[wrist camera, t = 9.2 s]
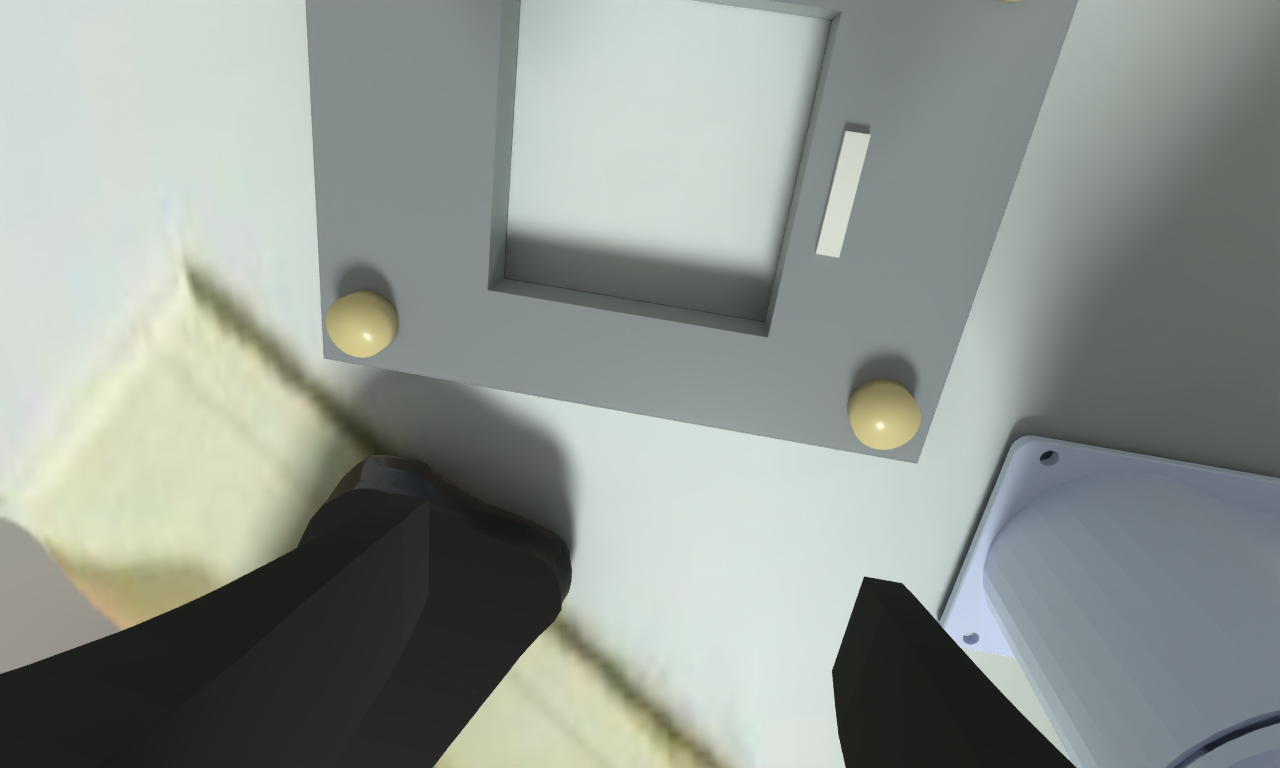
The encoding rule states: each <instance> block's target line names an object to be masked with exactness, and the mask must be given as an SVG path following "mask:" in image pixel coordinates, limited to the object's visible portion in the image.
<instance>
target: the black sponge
mask: <svg viewBox="0 0 1280 768" xmlns="http://www.w3.org/2000/svg"><path fill="white" fill-rule="evenodd" d="M393 493H398V494H404V495H409V496H415V497H420V498H426V499H430V523H429V587H428V599H427V601H426V603H425V605H424V608H423V610H422V612H421V615H420V617H419V619H418V621H417V624H416V626H415V628H414V630H413V632H412V635H411V637H410V639H409V641H408V643H407V645H406V647H405V650H404V652H403V653H402V655H401V657H400V659H399V660H398V662H397V664H396V665H395V667H394V669H393V670H392V672H391V674H390V675H389V677H388V679H387V680H386V682H385V684H384V685H383V687H382V689H381V690H380V692H379V694H378V695H377V697H376V698H375V700H374V702H373V703H372V705H371V707H370V708H369V710H368V712H367V713H366V715H365V716H364V718H363V720H362V721H361V723H360V725H359V726H358V728H357V729H356V731H355V733H354V734H353V736H352V738H351V739H350V741H349V742H348V744H347V746H346V747H345V749H344V751H343V752H342V754H341V756H340V757H339V759H338V760H337V762H336V764H335V765H334V767H333V768H432V767H433V766H434V765H435V764H436V763H437V761H438V760H439V759H440V758H441V756H442V755H443V754H444V752H445V751H446V750H447V748H448V747H449V746H450V744H451V743H452V742H453V741H454V740H455V738H456V737H457V736H458V735H459V733H460V732H461V731H462V730H463V728H464V727H465V726H466V725H467V723H468V722H469V721H470V719H471V718H472V717H473V716H474V714H475V713H476V712H477V711H478V709H479V708H480V707H481V705H482V704H483V703H484V702H485V700H486V699H487V698H488V697H489V695H490V694H491V693H492V692H493V690H494V689H495V688H496V687H497V686H498V684H499V683H500V682H501V681H502V679H503V678H504V677H505V675H506V674H507V673H508V672H509V670H510V669H511V668H512V666H513V665H514V664H515V663H516V661H517V660H518V659H519V657H520V656H521V655H522V654H523V653H524V652H525V651H526V650H527V648H528V647H529V646H530V645H531V644H532V643H533V642H534V641H535V640H536V639H537V637H538V636H539V635H541V634H542V633H543V632H544V631H545V630H546V629H547V628H548V627H549V626H550V625H551V624H552V623H553V622H554V620H555V619H556V617H557V616H558V614H559V613H560V611H561V606H562V602H563V601H564V599H565V597H566V596H567V594H568V593H569V589H570V585H571V579H572V567H571V561H570V555H569V550H568V548H567V546H566V544H565V542H564V541H563V540H561V539H560V538H559V537H558V536H557V535H556V534H554V533H552V532H550V531H548V530H546V529H544V528H542V527H540V526H539V525H537V524H535V523H533V522H532V521H530V520H527V519H525V518H522V517H520V516H517V515H515V514H512V513H510V512H507V511H505V510H502V509H499V508H497V507H494V506H491V505H488V504H486V503H484V502H482V501H480V500H478V499H476V498H474V497H472V496H470V495H469V494H468V493H467V492H465V491H464V490H463V489H461V488H460V487H458V486H456V485H455V484H453V483H452V482H450V481H448V480H447V479H445V478H443V477H442V476H440V475H439V474H438V473H436V472H435V471H434V470H432V469H431V468H430V467H429V466H428V465H427V464H426V463H424V462H421V461H419V460H415V459H409V458H403V457H397V456H391V455H374V456H370V457H367V458H366V459H364V460H363V461H361V462H360V463H358V464H357V465H356V466H355V467H354V468H353V469H352V470H350V471H349V472H348V473H347V474H346V475H345V476H344V477H343V478H342V480H341V481H340V483H339V484H338V485H337V487H336V488H335V490H334V491H333V492H332V494H331V495H330V497H329V498H328V499H327V501H326V502H325V503H324V504H323V505H322V507H321V508H320V509H319V510H318V511H317V513H316V514H315V515H314V516H313V517H312V519H311V520H310V522H309V524H308V526H307V528H306V530H305V532H304V534H303V536H302V538H301V541H300V543H299V545H298V547H299V546H301V545H303V544H305V543H307V542H308V541H310V540H312V539H314V538H315V537H317V536H319V535H321V534H323V533H324V532H326V531H328V530H330V529H331V528H333V527H335V526H337V525H338V524H340V523H342V522H343V521H345V520H347V519H349V518H350V517H352V516H354V515H356V514H357V513H359V512H361V511H362V510H364V509H366V508H368V507H369V506H371V505H373V504H375V503H376V502H378V501H380V500H382V499H384V498H385V497H387V496H389V495H391V494H393ZM298 547H297V548H298Z"/></svg>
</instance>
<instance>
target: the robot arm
mask: <svg viewBox="0 0 1280 768" xmlns="http://www.w3.org/2000/svg"><path fill="white" fill-rule="evenodd" d="M1047 451H1053V454H1052V455H1051V456H1050V458H1048V459H1046V460H1040V457H1041V455H1042V454H1043V453H1045V452H1047ZM429 523H430V499H426V498H420V497H415V496H409V495H404V494H398V493H393V494H391V495H389V496H387V497H385V498H384V499H382V500H380V501H378V502H376V503H375V504H373V505H371V506H369V507H368V508H366V509H364V510H362V511H361V512H359V513H357V514H356V515H354V516H352V517H350V518H349V519H347V520H345V521H343V522H342V523H340V524H338V525H337V526H335V527H333V528H331V529H330V530H328V531H326V532H324V533H323V534H321V535H319V536H317V537H315V538H314V539H312V540H310V541H308V542H307V543H305V544H303V545H301V546H299V547H298V548H296V549H294V550H292V551H291V552H289V553H287V554H285V555H283V556H281V557H279V558H277V559H276V560H274V561H272V562H270V563H268V564H266V565H264V566H262V567H260V568H258V569H256V570H254V571H252V572H250V573H248V574H246V575H244V576H242V577H240V578H238V579H236V580H235V581H233V582H231V583H229V584H227V585H225V586H223V587H221V588H219V589H217V590H215V591H213V592H210V593H208V594H206V595H204V596H202V597H200V598H198V599H195V600H193V601H191V602H189V603H187V604H184V605H182V606H180V607H178V608H175V609H173V610H171V611H168V612H166V613H164V614H161V615H159V616H156V617H154V618H152V619H149V620H147V621H145V622H142V623H140V624H138V625H135V626H133V627H130V628H128V629H125V630H123V631H120V632H118V633H115V634H112V635H110V636H107V637H104V638H101V639H99V640H96V641H93V642H90V643H87V644H85V645H82V646H79V647H76V648H74V649H71V650H68V651H66V652H63V653H60V654H57V655H54V656H52V657H49V658H46V659H43V660H41V661H38V662H35V663H33V664H30V665H27V666H24V667H21V668H18V669H15V670H11V671H9V672H5V673H2V674H0V768H333V767H334V765H335V764H336V762H337V760H338V759H339V757H340V756H341V754H342V752H343V751H344V749H345V747H346V746H347V744H348V742H349V741H350V739H351V738H352V736H353V734H354V733H355V731H356V729H357V728H358V726H359V725H360V723H361V721H362V720H363V718H364V716H365V715H366V713H367V712H368V710H369V708H370V707H371V705H372V703H373V702H374V700H375V698H376V697H377V695H378V694H379V692H380V690H381V689H382V687H383V685H384V684H385V682H386V680H387V679H388V677H389V675H390V674H391V672H392V670H393V669H394V667H395V665H396V664H397V662H398V660H399V659H400V657H401V655H402V653H403V652H404V650H405V647H406V645H407V643H408V641H409V639H410V637H411V635H412V632H413V630H414V628H415V626H416V624H417V621H418V619H419V617H420V615H421V612H422V610H423V608H424V605H425V603H426V601H427V599H428V587H429ZM969 632H974V633H973V634H972V635H970V636H964V635H965V634H967V633H969ZM961 648H965V649H970V650H976V651H981V652H986V653H991V654H997V655H1002V656H1007V657H1012V658H1016V660H1017V662H1018V664H1019V665H1020V667H1021V669H1022V671H1023V673H1024V675H1025V676H1026V678H1027V680H1028V682H1029V684H1030V686H1031V687H1032V689H1033V691H1034V693H1035V695H1036V697H1037V699H1038V700H1039V702H1040V704H1041V706H1042V708H1043V710H1044V711H1045V713H1046V715H1047V717H1048V719H1049V721H1050V722H1051V724H1052V726H1053V728H1054V730H1055V732H1056V733H1057V735H1058V737H1059V739H1060V741H1061V743H1062V745H1063V746H1064V748H1065V750H1066V752H1067V754H1068V756H1069V757H1070V759H1071V761H1072V763H1073V764H1072V763H1071V762H1070V761H1069V760H1068V759H1067V758H1066V757H1065V756H1064V755H1063V754H1062V753H1061V752H1060V751H1059V750H1058V749H1057V748H1056V747H1055V746H1054V745H1053V744H1052V743H1051V742H1050V741H1049V740H1048V739H1047V738H1046V737H1045V736H1044V735H1043V734H1042V733H1041V732H1040V731H1039V730H1038V729H1037V728H1035V727H1034V726H1033V725H1032V724H1031V723H1030V722H1029V721H1028V720H1027V719H1026V718H1025V717H1024V716H1023V715H1022V713H1021V712H1020V711H1019V710H1018V709H1017V708H1016V707H1015V706H1014V705H1013V704H1012V703H1011V702H1010V701H1009V700H1008V699H1007V698H1006V697H1005V696H1004V695H1003V694H1002V693H1001V692H1000V690H999V689H998V688H997V687H996V686H995V685H994V684H993V683H992V682H991V681H990V680H989V679H988V678H987V677H986V675H985V674H984V673H983V672H982V671H981V670H980V669H979V668H978V667H977V666H976V665H975V663H974V662H973V661H972V660H971V659H970V658H969V657H968V656H967V655H966V653H965V652H964V651H963V650H962V649H961ZM832 676H833V687H834V698H835V708H836V717H837V726H838V734H839V739H840V744H841V748H842V753H843V757H844V762H845V766H846V768H1280V478H1276V477H1270V476H1264V475H1258V474H1253V473H1247V472H1241V471H1235V470H1230V469H1224V468H1218V467H1212V466H1207V465H1201V464H1195V463H1189V462H1184V461H1178V460H1172V459H1166V458H1160V457H1155V456H1149V455H1143V454H1137V453H1132V452H1126V451H1120V450H1114V449H1109V448H1103V447H1097V446H1091V445H1086V444H1080V443H1074V442H1068V441H1063V440H1057V439H1051V438H1045V437H1040V436H1034V435H1026V436H1023V437H1020V438H1019V439H1017V440H1016V441H1015V442H1014V443H1013V444H1012V446H1011V447H1010V450H1009V452H1008V455H1007V457H1006V460H1005V462H1004V465H1003V467H1002V470H1001V472H1000V474H999V477H998V479H997V482H996V484H995V487H994V489H993V492H992V494H991V497H990V499H989V502H988V504H987V506H986V509H985V511H984V514H983V516H982V519H981V521H980V524H979V526H978V529H977V531H976V533H975V536H974V538H973V541H972V543H971V546H970V548H969V551H968V553H967V556H966V558H965V561H964V563H963V565H962V568H961V570H960V573H959V575H958V578H957V580H956V583H955V585H954V588H953V590H952V593H951V595H950V597H949V600H948V602H947V605H946V607H945V610H944V612H943V615H942V617H941V620H940V622H939V623H938V622H937V621H936V620H935V619H934V617H933V616H932V615H931V614H930V613H929V612H928V611H927V610H926V608H925V607H924V606H923V605H922V604H921V603H920V602H919V601H918V599H917V598H916V597H915V596H914V595H913V594H912V593H911V592H910V591H909V590H908V589H907V588H906V587H905V586H904V585H903V584H902V583H898V582H892V581H886V580H881V579H875V578H869V577H864V579H863V581H862V584H861V587H860V590H859V593H858V596H857V599H856V602H855V605H854V608H853V611H852V614H851V617H850V620H849V623H848V626H847V629H846V631H845V634H844V637H843V640H842V643H841V646H840V649H839V652H838V655H837V658H836V661H835V664H834V667H833V670H832Z"/></svg>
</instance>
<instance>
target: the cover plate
mask: <svg viewBox="0 0 1280 768" xmlns="http://www.w3.org/2000/svg"><path fill="white" fill-rule="evenodd" d="M695 1H702V2H709V3H716V4H723V5H730V6H737V7H744V8H751V9H758V10H765V11H773V12H780V13H787V14H794V15H801V16H808V17H815V18H822V19H829V20H832V23H831V27H830V32H829V36H828V41H827V45H826V50H825V54H824V59H823V63H822V68H821V72H820V77H819V81H818V86H817V90H816V95H815V99H814V104H813V108H812V113H811V117H810V122H809V126H808V131H807V135H806V140H805V144H804V148H803V153H802V157H801V162H800V166H799V171H798V175H797V180H796V184H795V189H794V193H793V198H792V202H791V207H790V211H789V216H788V220H787V225H786V229H785V234H784V238H783V243H782V247H781V252H780V256H779V261H778V265H777V270H776V274H775V279H774V283H773V288H772V292H771V297H770V301H769V305H768V310H767V314H766V319H765V322H761V321H755V320H749V319H743V318H737V317H731V316H725V315H719V314H713V313H707V312H701V311H695V310H689V309H683V308H677V307H671V306H665V305H659V304H653V303H647V302H641V301H636V300H630V299H624V298H618V297H612V296H606V295H600V294H594V293H588V292H582V291H576V290H570V289H564V288H558V287H552V286H546V285H540V284H534V283H528V282H522V281H516V280H511V279H505V278H504V267H505V250H506V234H507V217H508V200H509V183H510V167H511V150H512V133H513V117H514V100H515V83H516V67H517V50H518V33H519V16H520V0H306V18H307V38H308V57H309V77H310V97H311V116H312V136H313V155H314V175H315V194H316V214H317V234H318V253H319V273H320V292H321V312H322V332H323V351H324V358H325V359H331V360H336V361H342V362H348V363H353V364H359V365H364V366H370V367H376V368H381V369H387V370H393V371H398V372H404V373H409V374H415V375H421V376H426V377H432V378H438V379H443V380H449V381H455V382H460V383H466V384H471V385H477V386H483V387H488V388H494V389H500V390H505V391H511V392H516V393H522V394H528V395H533V396H539V397H545V398H550V399H556V400H561V401H567V402H573V403H578V404H584V405H590V406H595V407H601V408H607V409H612V410H618V411H623V412H629V413H635V414H640V415H646V416H652V417H657V418H663V419H668V420H674V421H680V422H685V423H691V424H697V425H702V426H708V427H714V428H719V429H725V430H730V431H736V432H742V433H747V434H753V435H759V436H764V437H770V438H775V439H781V440H787V441H792V442H798V443H804V444H809V445H815V446H820V447H826V448H832V449H837V450H843V451H849V452H854V453H860V454H866V455H871V456H877V457H882V458H888V459H894V460H899V461H905V462H911V463H916V464H917V462H918V460H919V457H920V454H921V451H922V448H923V445H924V442H925V439H926V437H927V434H928V431H929V428H930V425H931V422H932V419H933V416H934V414H935V411H936V408H937V405H938V402H939V399H940V396H941V393H942V391H943V388H944V385H945V382H946V379H947V376H948V373H949V370H950V368H951V365H952V362H953V359H954V356H955V353H956V350H957V347H958V344H959V342H960V339H961V336H962V333H963V330H964V327H965V324H966V321H967V319H968V316H969V313H970V310H971V307H972V304H973V301H974V298H975V296H976V293H977V290H978V287H979V284H980V281H981V278H982V275H983V273H984V270H985V267H986V264H987V261H988V258H989V255H990V252H991V250H992V247H993V244H994V241H995V238H996V235H997V232H998V229H999V227H1000V224H1001V221H1002V218H1003V215H1004V212H1005V209H1006V206H1007V204H1008V201H1009V198H1010V195H1011V192H1012V189H1013V186H1014V183H1015V181H1016V178H1017V175H1018V172H1019V169H1020V166H1021V163H1022V160H1023V158H1024V155H1025V152H1026V149H1027V146H1028V143H1029V140H1030V137H1031V134H1032V132H1033V129H1034V126H1035V123H1036V120H1037V117H1038V114H1039V111H1040V109H1041V106H1042V103H1043V100H1044V97H1045V94H1046V91H1047V88H1048V86H1049V83H1050V80H1051V77H1052V74H1053V71H1054V68H1055V65H1056V63H1057V60H1058V57H1059V54H1060V51H1061V48H1062V45H1063V42H1064V40H1065V37H1066V34H1067V31H1068V28H1069V25H1070V22H1071V19H1072V17H1073V14H1074V11H1075V8H1076V5H1077V2H1078V0H695Z"/></svg>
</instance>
